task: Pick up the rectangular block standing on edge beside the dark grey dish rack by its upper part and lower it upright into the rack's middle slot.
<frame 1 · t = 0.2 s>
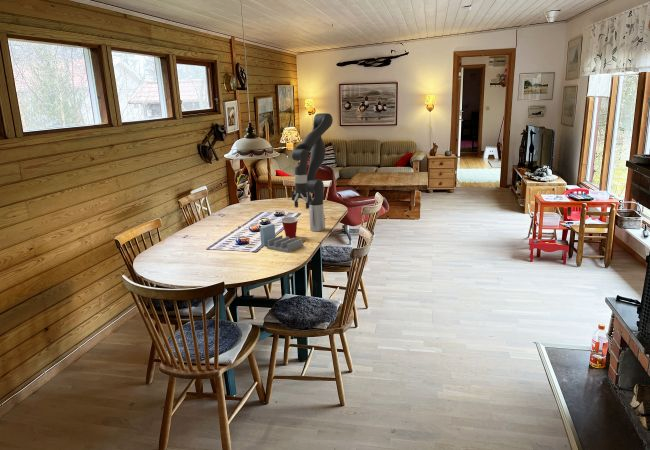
hand: (301, 208, 293), 18 cm above the table, tool pointing down, fingers open, 8 cm apart
dish rack: (285, 247, 275), on the table
plastic cup: (291, 237, 294), on the table
rectangular block: (268, 243, 284), on the table
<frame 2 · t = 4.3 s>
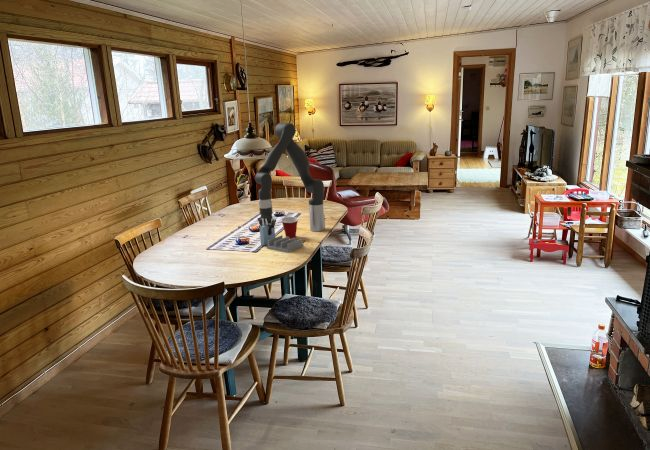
hand: (268, 234, 282), 6 cm above the table, tool pointing down, fingers closed on rectangular block, 2 cm apart
rectangular block: (268, 243, 283), on the table, touching gripper
everything else where it was.
when the fingers open (8 cm above the table, at t = 9.0 s): rectangular block drops 2 cm, resting on dish rack.
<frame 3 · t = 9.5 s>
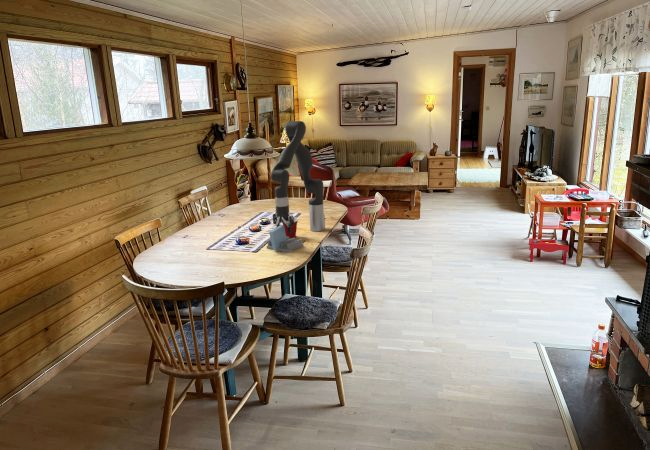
hand: (284, 232, 273), 9 cm above the table, tool pointing down, fingers open, 7 cm apart
rectangular block: (280, 246, 271), point 2 cm above the table, tilted 9°, touching dish rack
everything else where it was.
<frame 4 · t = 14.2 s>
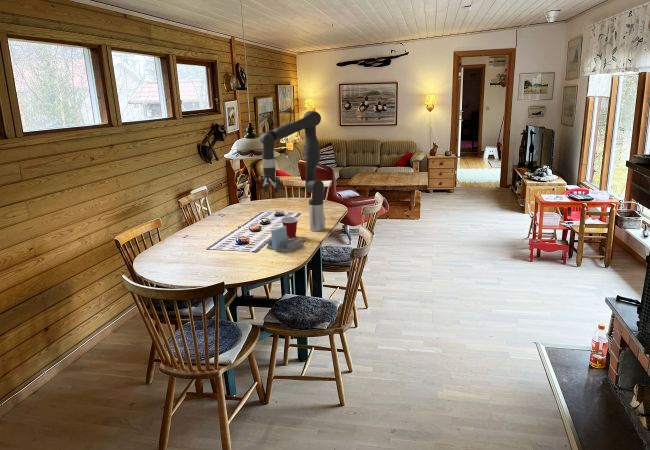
hand: (271, 192, 291), 28 cm above the table, tool pointing down, fingers open, 8 cm apart
rectangular block: (280, 246, 271), point 1 cm above the table, touching dish rack
everything else where it was.
at the end: rectangular block inside the target area on the dish rack (4.4 cm from its centre), point 1.5 cm above the dish rack's base; rectangular block tilted 0°; the gripper is holding nothing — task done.
